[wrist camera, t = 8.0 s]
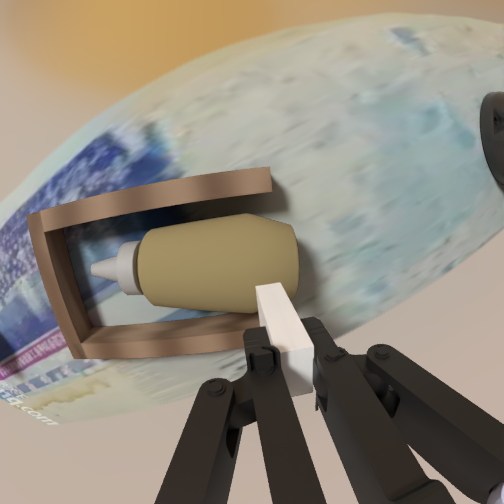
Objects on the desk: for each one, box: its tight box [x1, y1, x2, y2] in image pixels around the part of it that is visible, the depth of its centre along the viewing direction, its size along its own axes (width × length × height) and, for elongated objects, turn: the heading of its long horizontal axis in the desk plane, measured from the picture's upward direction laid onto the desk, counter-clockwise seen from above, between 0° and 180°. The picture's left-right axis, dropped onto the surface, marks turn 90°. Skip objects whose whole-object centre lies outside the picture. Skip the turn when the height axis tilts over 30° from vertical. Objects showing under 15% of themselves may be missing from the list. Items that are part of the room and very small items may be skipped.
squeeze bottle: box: [91, 213, 299, 313], centre depth 23 cm, size 8×8×18 cm
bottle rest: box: [26, 167, 272, 359], centre depth 24 cm, size 23×16×4 cm
